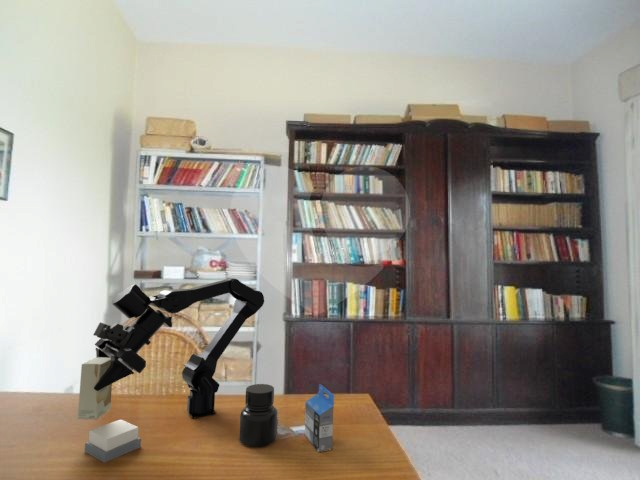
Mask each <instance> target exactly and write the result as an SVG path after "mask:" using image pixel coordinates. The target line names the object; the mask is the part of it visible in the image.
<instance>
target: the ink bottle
mask: <svg viewBox="0 0 640 480" xmlns="http://www.w3.org/2000/svg"><path fill="white" fill-rule="evenodd" d="M274 398H275V386H273V385H270V384H268V383H267V384H265V383H256V384H250V385H248V386H246V389H245V402H244V403H245V407H244V408H243V409H241V411H240V416H239V418H240V419H239V437H238V438H239V442H240V443H241V444H242V445H244V446H247V447H250V448H264V447H267V446H270V445H271V444H273V443H275V441H276V439H277V437H278V423H279V422H278V420H279V417H278V415H279V414H278V410H277V408H276V406H274V404H275V403H274V400H275V399H274Z"/></svg>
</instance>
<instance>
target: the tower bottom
mask: <svg viewBox="0 0 640 480" xmlns="http://www.w3.org/2000/svg"><path fill="white" fill-rule="evenodd" d="M141 446H142V438H141V437H139V436H138V438H137V439H135V440H133V441H130V442H128V443H125V444H123V445H121V446H118V447H116V448H114V449H111V450H109V451H104V450H102V449H101V448H99V447H97V446H95V445H93V444H91V443H89V440H88V441H86V442H84V452H85V453H87V454H88V455H90V456H91V457H93V458H95V459H97V460H98V461H101V462H102V463H108V462H109V461H112V460H115V459H116V458H118V457H121V456H123V455H125V454H127V453H130V452H132V451H135V450H138V449H140V448H141Z"/></svg>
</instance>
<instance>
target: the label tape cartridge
mask: <svg viewBox="0 0 640 480" xmlns="http://www.w3.org/2000/svg"><path fill="white" fill-rule="evenodd" d="M324 393H325V394H326V395H327V396H328V397H327V396H326V395H325V394H324ZM304 403H305V405H304V406H305V407H304V409H305V412H304V436H305V437H307V438H306V439H307V440H308V441H309V442H310V443H311V445H312V446H313V448H314V449H316V451H317V452H318V453H322V452H321V451H324V450H328V451H330V450H329V449H332V450H333V436H334V435H333V434H334V406H335V405H334V404H335V394H334V393H333V392H331V391H330V390H328V389H327V388H326V387H325V386H323V385H322V384H321V383H319V385H318V392H317V393H316V394H315V395H314V396H312V397H311V398H308V399H307V400H306V401H305V402H304ZM324 452H325V451H324Z"/></svg>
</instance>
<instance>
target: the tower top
mask: <svg viewBox="0 0 640 480" xmlns="http://www.w3.org/2000/svg"><path fill="white" fill-rule="evenodd" d="M88 433H89V434H88V441H89V443H91V444H93V445H95V446H97V447H99V448H101V449H102V450H104V451H109V450H111V449H114V448H116V447H118V446H121V445H123V444H125V443H128V442H130V441H133V440H135V439H137V438H138V437H139V426H138V425H137V426H136V425H134V424H132V423H130V422H128V421H125V420H124V419H118V420H115V421H112V422H109V423H106V424H103V425H101V426H98V427H96V428H92V429H90V430H89V432H88Z"/></svg>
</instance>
